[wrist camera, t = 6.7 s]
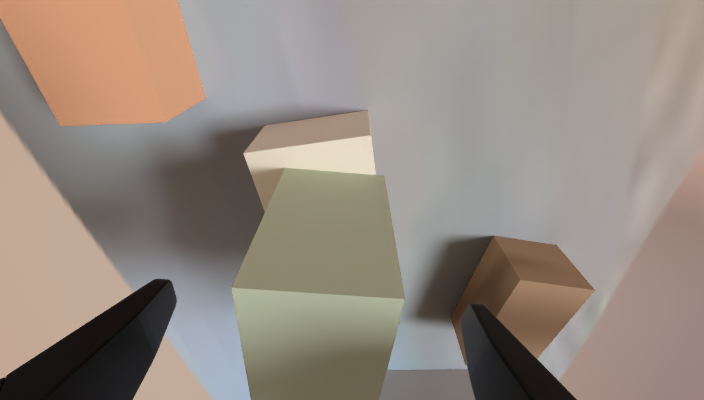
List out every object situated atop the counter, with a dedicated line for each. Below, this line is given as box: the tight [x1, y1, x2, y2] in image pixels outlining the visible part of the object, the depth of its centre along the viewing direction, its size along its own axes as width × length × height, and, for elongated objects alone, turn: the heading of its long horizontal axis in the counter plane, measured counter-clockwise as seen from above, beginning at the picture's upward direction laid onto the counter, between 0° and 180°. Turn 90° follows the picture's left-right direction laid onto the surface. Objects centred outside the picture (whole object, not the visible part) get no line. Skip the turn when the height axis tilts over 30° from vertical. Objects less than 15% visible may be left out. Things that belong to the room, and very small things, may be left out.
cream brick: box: [243, 110, 376, 212], centre depth 13 cm, size 8×4×3 cm, turn 9°
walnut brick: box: [451, 236, 595, 365], centre depth 15 cm, size 6×3×3 cm, turn 170°
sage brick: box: [231, 168, 405, 400], centre depth 9 cm, size 6×3×5 cm, turn 175°
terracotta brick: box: [0, 0, 205, 126], centre depth 9 cm, size 6×3×3 cm, turn 2°
